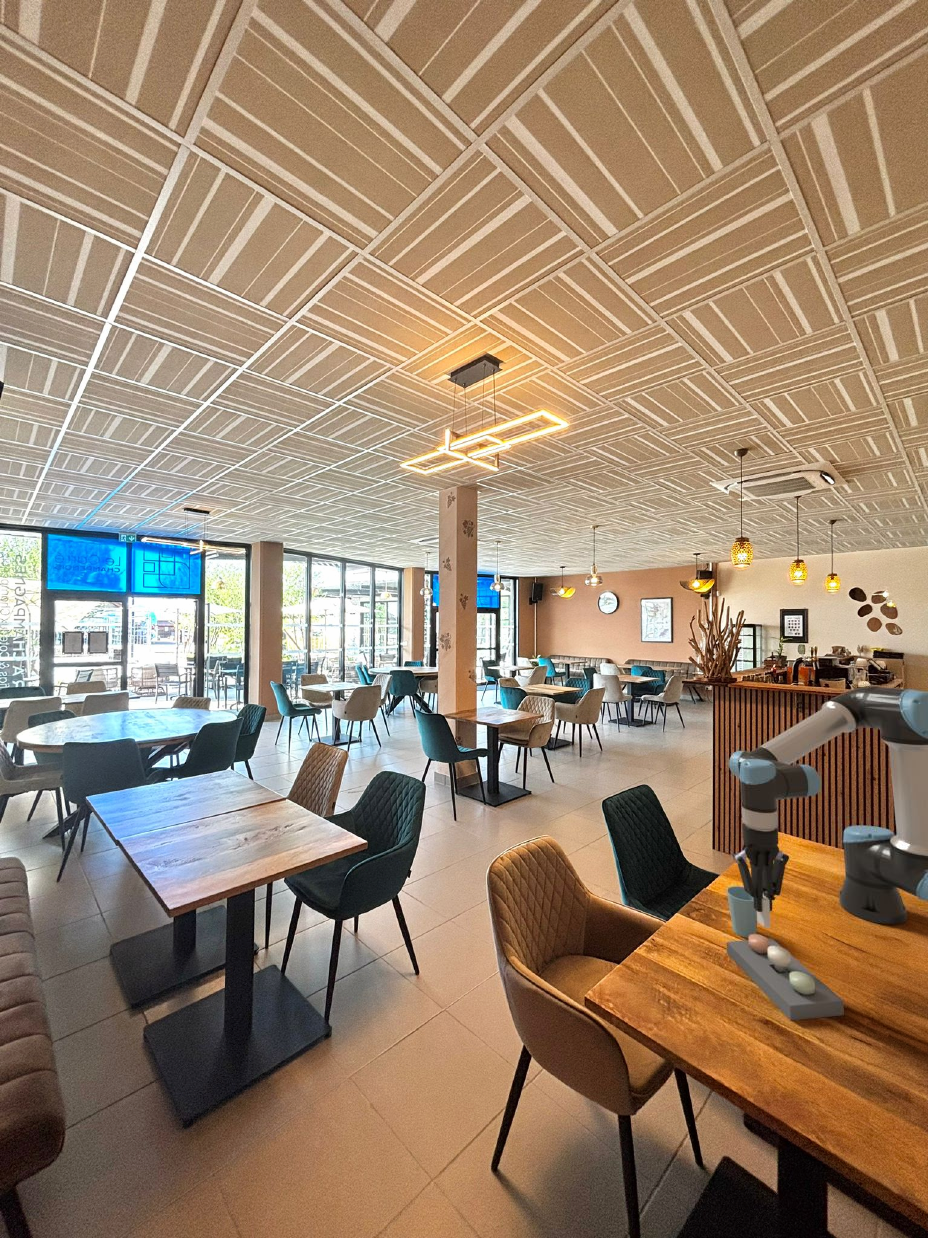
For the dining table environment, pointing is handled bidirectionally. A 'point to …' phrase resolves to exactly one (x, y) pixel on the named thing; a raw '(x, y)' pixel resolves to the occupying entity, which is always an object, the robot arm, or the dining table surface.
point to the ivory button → (779, 957)
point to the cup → (742, 911)
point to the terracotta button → (759, 943)
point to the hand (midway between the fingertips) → (763, 924)
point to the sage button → (802, 983)
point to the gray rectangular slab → (785, 984)
